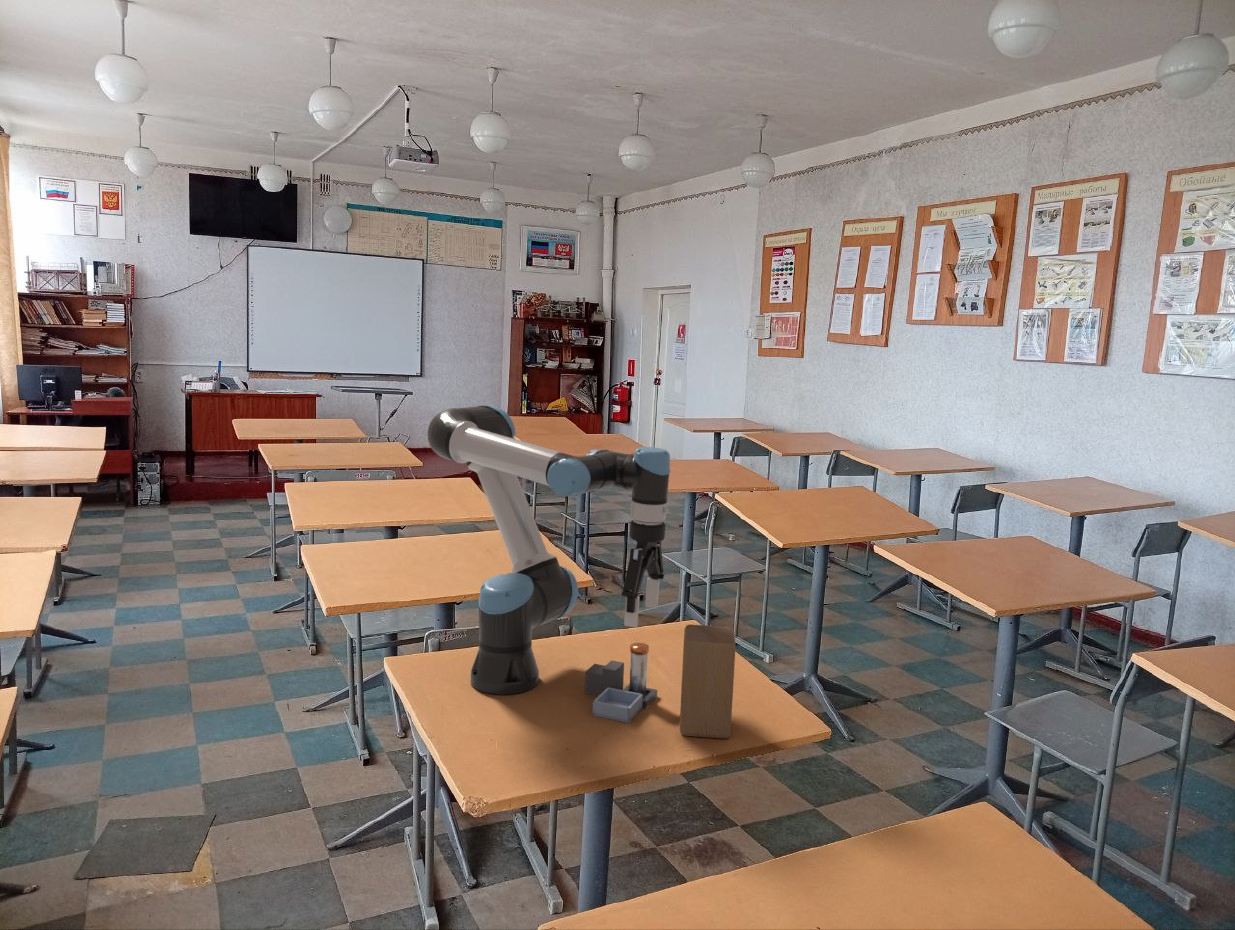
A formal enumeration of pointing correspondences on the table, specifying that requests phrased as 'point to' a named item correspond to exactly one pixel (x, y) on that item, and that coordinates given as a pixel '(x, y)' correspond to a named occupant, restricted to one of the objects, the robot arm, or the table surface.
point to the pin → (638, 668)
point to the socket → (647, 696)
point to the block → (707, 681)
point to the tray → (617, 704)
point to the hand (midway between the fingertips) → (641, 616)
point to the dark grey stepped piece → (604, 677)
